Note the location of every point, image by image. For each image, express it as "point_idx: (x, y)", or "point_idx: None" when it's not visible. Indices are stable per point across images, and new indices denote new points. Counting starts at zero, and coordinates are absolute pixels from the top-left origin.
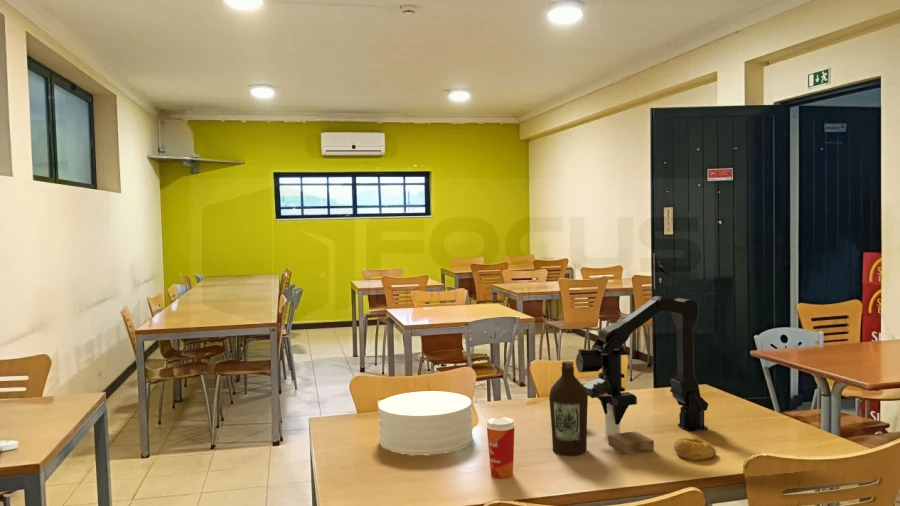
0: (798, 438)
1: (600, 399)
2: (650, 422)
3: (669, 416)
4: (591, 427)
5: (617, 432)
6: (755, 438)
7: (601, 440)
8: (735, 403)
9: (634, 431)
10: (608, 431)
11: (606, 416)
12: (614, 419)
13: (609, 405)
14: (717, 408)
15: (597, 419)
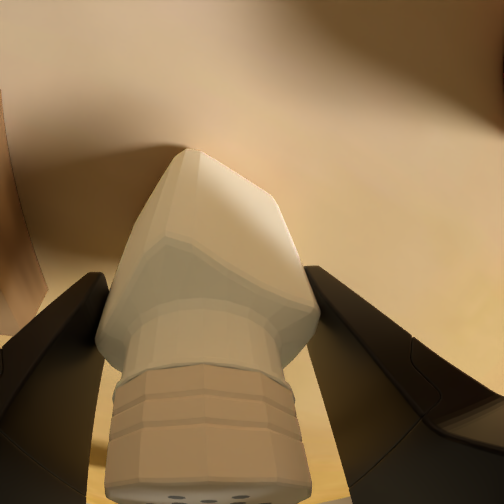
0: (97, 496)
1: (494, 456)
2: (317, 419)
3: (332, 452)
4: (436, 160)
5: (128, 239)
6: (96, 481)
7: (104, 64)
8: (321, 499)
9: (16, 324)
10: (164, 175)
11: (163, 251)
12: (109, 304)
13: (130, 470)
14: (315, 491)
15: (492, 266)
